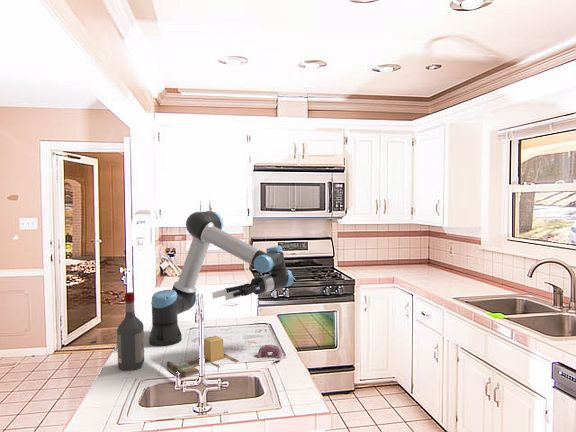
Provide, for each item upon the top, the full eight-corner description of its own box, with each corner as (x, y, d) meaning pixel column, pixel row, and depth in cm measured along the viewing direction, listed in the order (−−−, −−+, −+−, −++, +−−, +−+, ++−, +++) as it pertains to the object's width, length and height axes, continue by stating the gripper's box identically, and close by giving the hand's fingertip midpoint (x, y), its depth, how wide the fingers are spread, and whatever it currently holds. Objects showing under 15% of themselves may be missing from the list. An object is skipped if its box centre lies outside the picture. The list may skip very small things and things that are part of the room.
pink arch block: (281, 362, 186) (282, 345, 189) (280, 361, 182) (281, 344, 184) (258, 362, 187) (259, 345, 189) (256, 361, 182) (257, 343, 185)
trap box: (167, 370, 175) (166, 362, 174) (221, 355, 191) (221, 347, 190) (183, 381, 164) (183, 372, 164) (239, 364, 180) (239, 356, 180)
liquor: (145, 361, 185) (143, 290, 183) (140, 370, 176) (138, 295, 174) (122, 362, 184) (120, 291, 182) (116, 371, 175) (114, 296, 173)
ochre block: (203, 357, 184) (203, 338, 184) (216, 354, 188) (215, 335, 188) (210, 361, 180) (210, 342, 179) (223, 358, 184) (223, 338, 183)
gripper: (277, 293, 190) (233, 306, 178) (250, 291, 211) (209, 303, 199) (274, 276, 190) (229, 288, 178) (248, 276, 211) (206, 286, 199)
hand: (219, 296), depth 189 cm, fingers open, 13 cm apart
